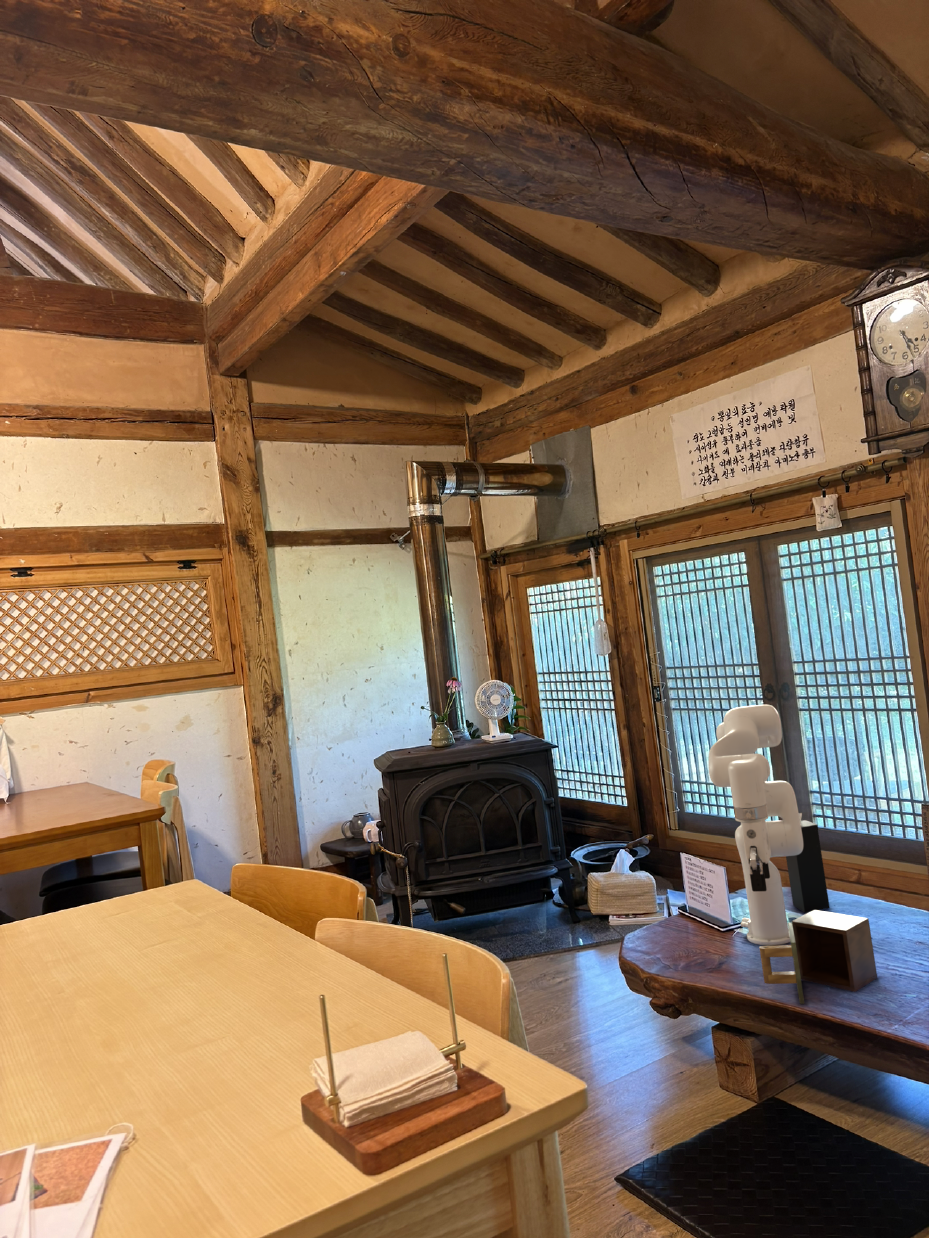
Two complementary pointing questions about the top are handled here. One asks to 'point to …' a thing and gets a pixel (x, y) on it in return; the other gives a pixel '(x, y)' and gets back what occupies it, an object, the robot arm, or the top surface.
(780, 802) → the robot arm
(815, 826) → the tall black block
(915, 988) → the top surface
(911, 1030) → the top surface
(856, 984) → the cupboard
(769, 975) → the door
